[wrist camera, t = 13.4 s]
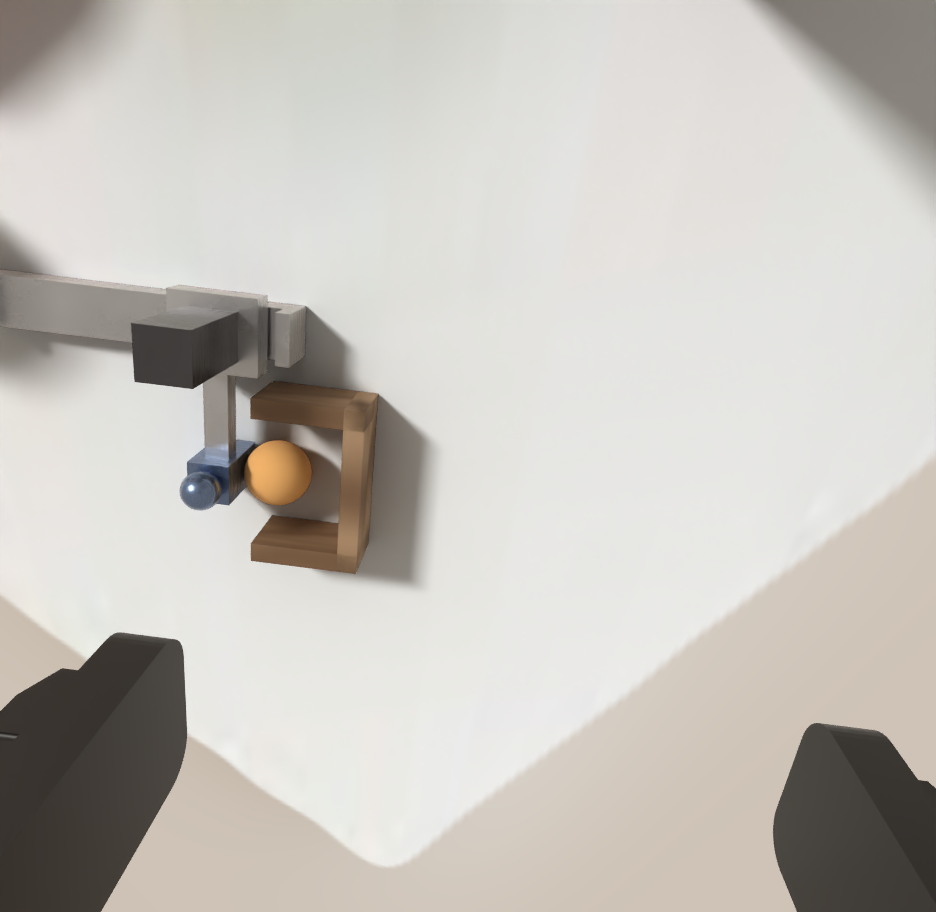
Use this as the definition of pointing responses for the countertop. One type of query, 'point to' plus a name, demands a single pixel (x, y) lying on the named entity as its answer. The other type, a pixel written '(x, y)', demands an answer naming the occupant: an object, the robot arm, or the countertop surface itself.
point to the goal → (357, 419)
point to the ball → (278, 472)
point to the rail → (119, 311)
